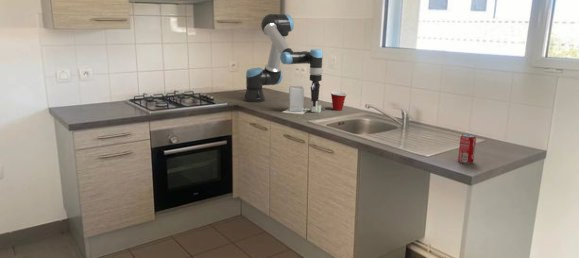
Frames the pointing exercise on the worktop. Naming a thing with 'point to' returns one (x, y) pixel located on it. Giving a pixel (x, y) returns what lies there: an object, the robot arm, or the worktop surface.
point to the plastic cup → (338, 100)
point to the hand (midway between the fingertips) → (314, 111)
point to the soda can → (467, 148)
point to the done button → (317, 109)
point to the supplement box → (296, 98)
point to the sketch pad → (296, 111)
